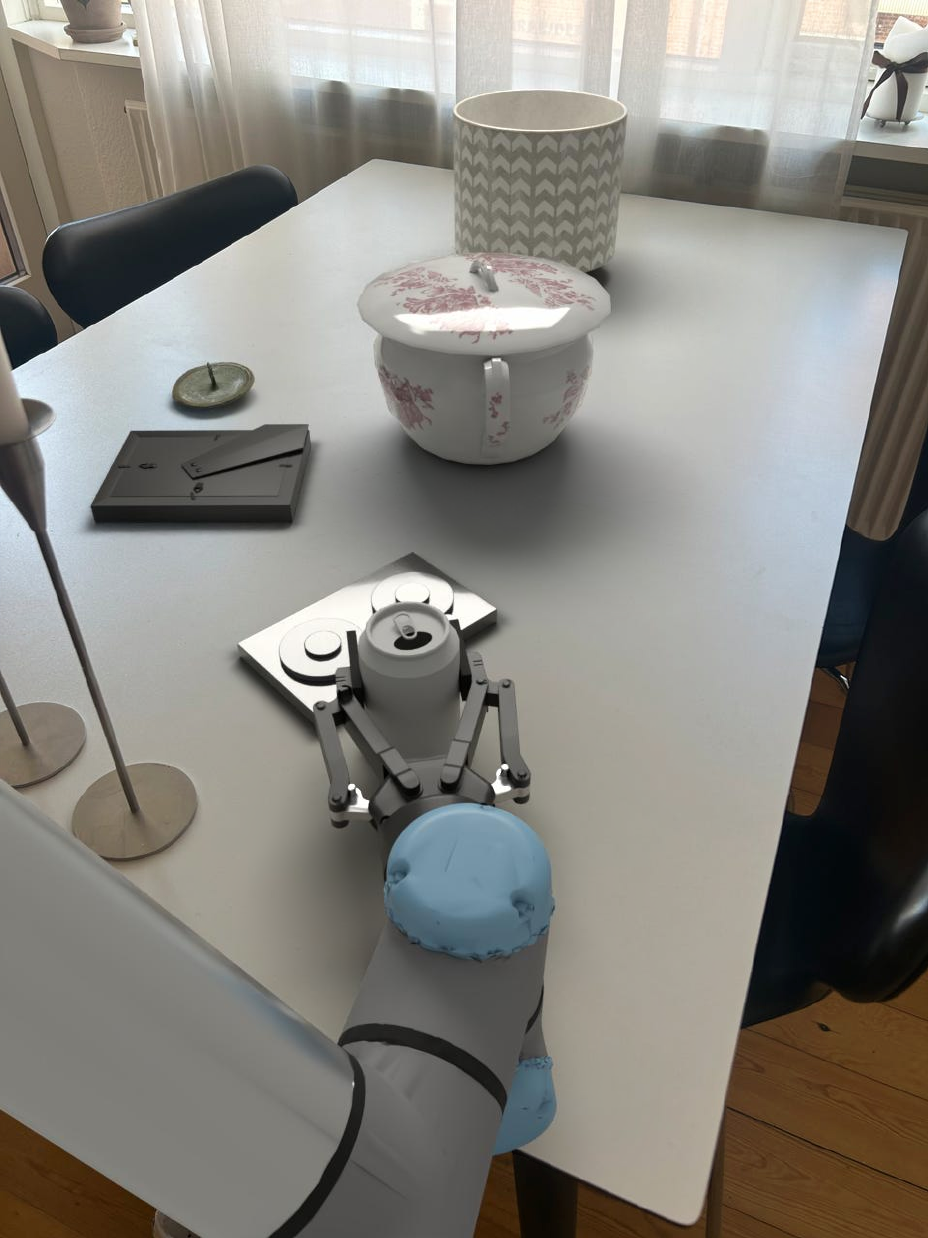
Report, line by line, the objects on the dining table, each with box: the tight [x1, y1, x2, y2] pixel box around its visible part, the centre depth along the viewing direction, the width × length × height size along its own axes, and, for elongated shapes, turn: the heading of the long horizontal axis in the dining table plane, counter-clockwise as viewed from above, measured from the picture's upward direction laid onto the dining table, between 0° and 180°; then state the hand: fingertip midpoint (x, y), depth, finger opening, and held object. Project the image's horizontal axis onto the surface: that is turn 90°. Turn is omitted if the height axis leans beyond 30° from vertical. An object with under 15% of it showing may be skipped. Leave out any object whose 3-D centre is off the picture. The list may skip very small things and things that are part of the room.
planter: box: [452, 88, 628, 273], centre depth 146 cm, size 25×25×24 cm
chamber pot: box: [356, 253, 612, 466], centre depth 108 cm, size 28×28×21 cm
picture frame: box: [89, 423, 312, 523], centre depth 106 cm, size 16×3×21 cm
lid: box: [171, 361, 255, 409], centre depth 122 cm, size 11×10×5 cm
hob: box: [236, 551, 498, 727], centre depth 86 cm, size 12×20×2 cm, turn 132°
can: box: [358, 601, 461, 759], centre depth 74 cm, size 8×8×12 cm
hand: (403, 638), depth 77 cm, fingers closed on can, 7 cm apart
